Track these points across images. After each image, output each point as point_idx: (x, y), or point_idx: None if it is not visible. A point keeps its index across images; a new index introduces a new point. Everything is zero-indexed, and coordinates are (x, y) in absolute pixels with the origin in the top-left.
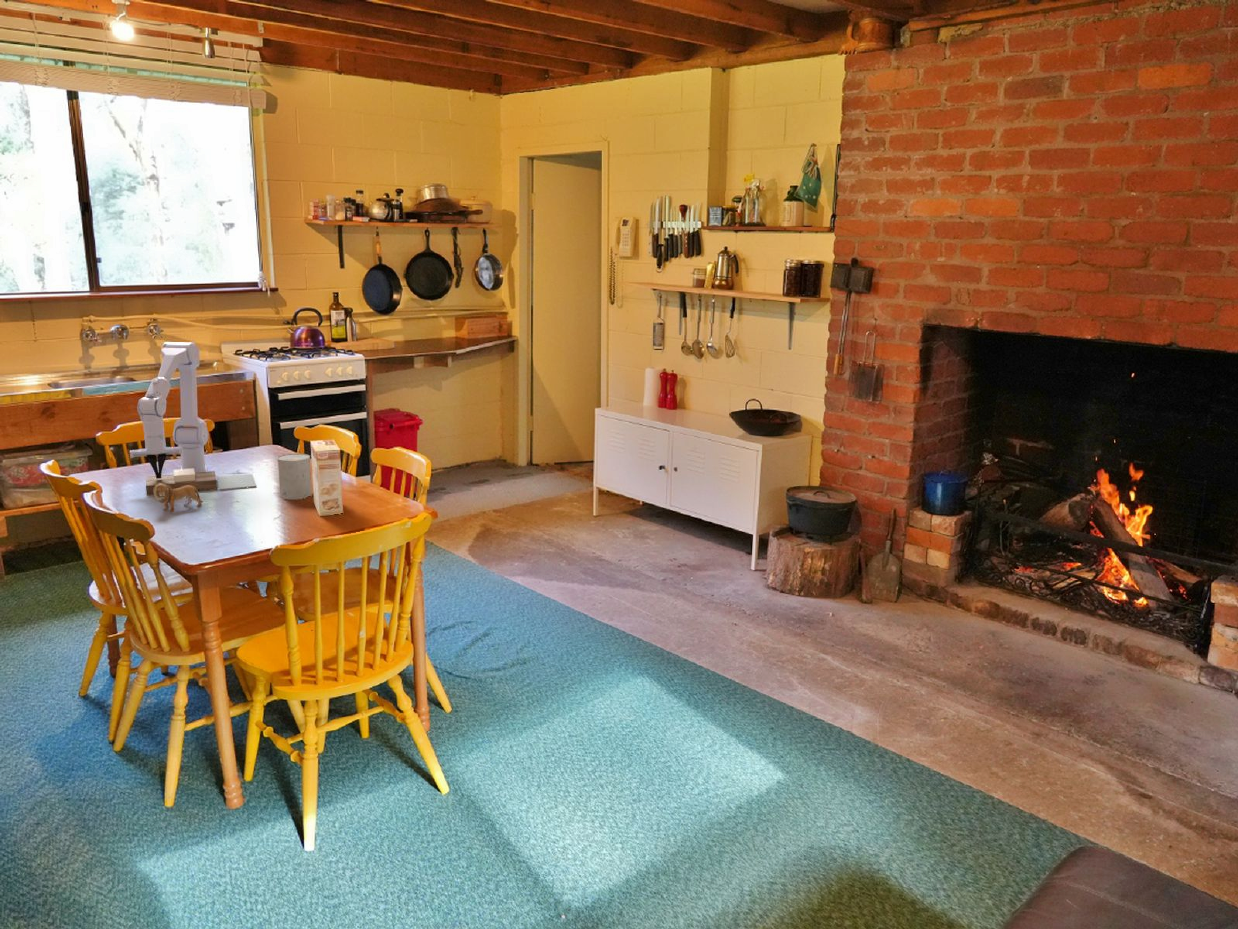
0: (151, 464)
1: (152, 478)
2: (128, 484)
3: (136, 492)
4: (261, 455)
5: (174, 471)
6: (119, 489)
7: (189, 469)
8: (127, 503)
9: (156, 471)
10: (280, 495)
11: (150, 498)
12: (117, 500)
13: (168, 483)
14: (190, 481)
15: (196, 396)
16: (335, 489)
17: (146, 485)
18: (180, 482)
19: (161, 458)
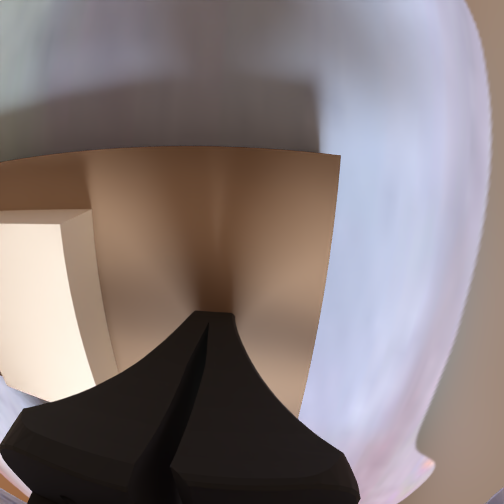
0: (279, 409)
1: None
2: (362, 423)
3: (370, 269)
4: (15, 474)
5: (88, 377)
6: (421, 359)
7: (16, 373)
8: (427, 26)
9: (221, 347)
10: None
11: (299, 59)
12: (473, 126)
13: (135, 172)
14: (3, 183)
15: None
16: None
17: (334, 173)
18: (52, 175)
19: (51, 442)
